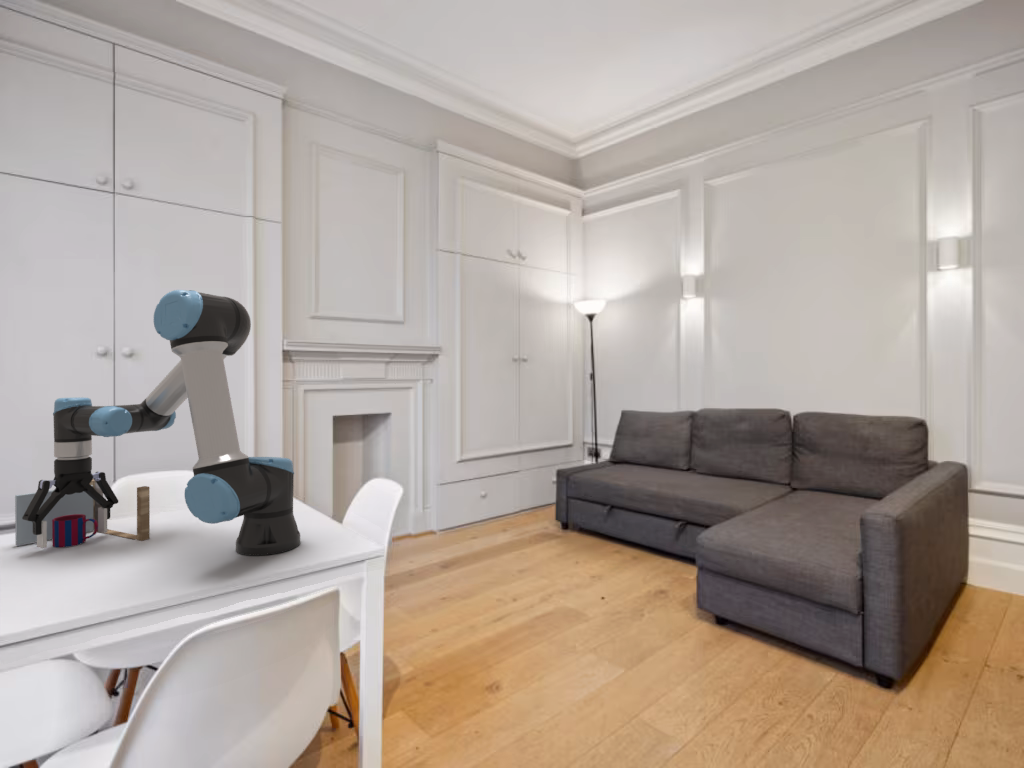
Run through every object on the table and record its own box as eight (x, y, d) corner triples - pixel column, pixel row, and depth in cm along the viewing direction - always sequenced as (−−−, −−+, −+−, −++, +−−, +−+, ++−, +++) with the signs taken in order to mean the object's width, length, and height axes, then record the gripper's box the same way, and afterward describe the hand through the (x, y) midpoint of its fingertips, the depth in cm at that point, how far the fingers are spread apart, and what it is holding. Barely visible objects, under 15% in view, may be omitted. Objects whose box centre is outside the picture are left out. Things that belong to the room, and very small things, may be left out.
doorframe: (150, 538, 142) (150, 482, 142) (141, 541, 140) (140, 484, 140) (91, 526, 153) (91, 474, 153) (82, 528, 151) (81, 476, 151)
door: (89, 529, 149) (89, 484, 149) (93, 530, 148) (93, 485, 148) (13, 543, 136) (13, 494, 136) (17, 545, 135) (16, 496, 135)
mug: (67, 539, 141) (66, 514, 141) (104, 539, 141) (104, 514, 141) (45, 547, 135) (45, 520, 134) (85, 547, 135) (84, 521, 135)
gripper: (116, 450, 150) (116, 525, 150) (3, 463, 127) (4, 551, 127) (133, 452, 147) (133, 528, 147) (20, 465, 124) (21, 556, 124)
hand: (73, 539), depth 137 cm, fingers open, 13 cm apart
